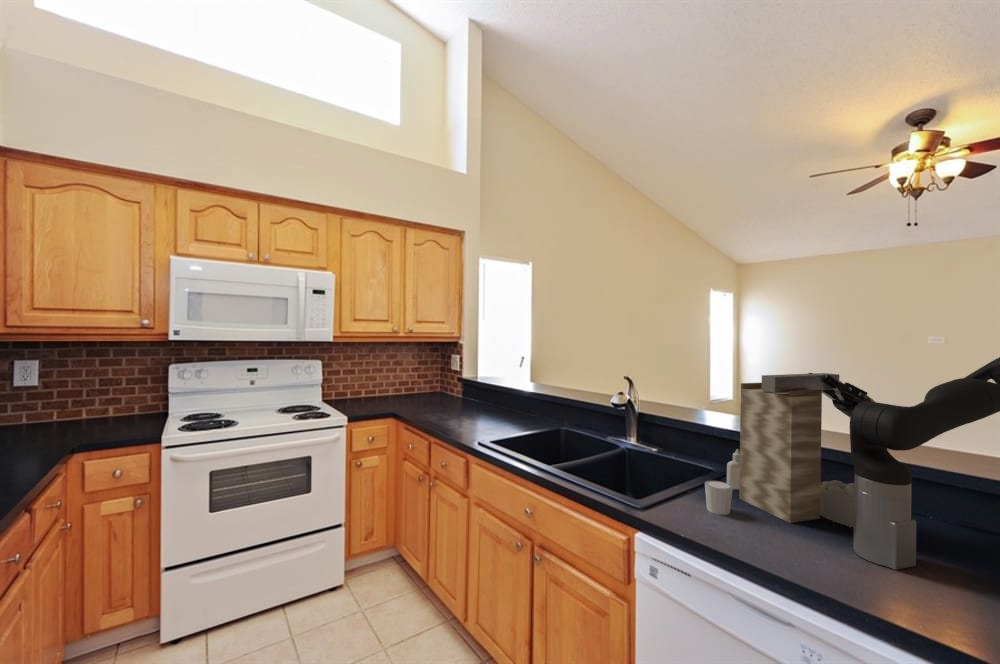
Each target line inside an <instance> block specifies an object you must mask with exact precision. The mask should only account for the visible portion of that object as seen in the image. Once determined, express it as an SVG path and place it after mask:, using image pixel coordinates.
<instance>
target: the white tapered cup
mask: <svg viewBox="0 0 1000 664" xmlns="http://www.w3.org/2000/svg"><path fill="white" fill-rule="evenodd" d="M704 489H705V491H704V492H705V503H706V510H707V511H708V512H709V513H712V514H716V515H720V516H726V515H730V514H731V507H732V506H731V505H732V497H733V492H734V490H733V486H731V485H730V484H727V482H723V481H718V480H707V481H704Z"/></svg>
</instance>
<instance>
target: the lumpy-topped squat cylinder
mask: <svg viewBox="0 0 1000 664" xmlns="http://www.w3.org/2000/svg"><path fill="white" fill-rule="evenodd" d="M854 483H855V482H850V483H844V482H842V481H840V480H837V479H836V480H835V479H833V480H830V481H829V480H827V481H821V487H820V517H823V518H824V519H827V520H830V521H831V520H832V521H831V522H834V523H836V522H837V524H839V523H840V524H839V525H842V524H843V525H842V526H844V525H846V526H845V527H847V526H849V527H848V528H851V527H853V528H852V529H854Z"/></svg>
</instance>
